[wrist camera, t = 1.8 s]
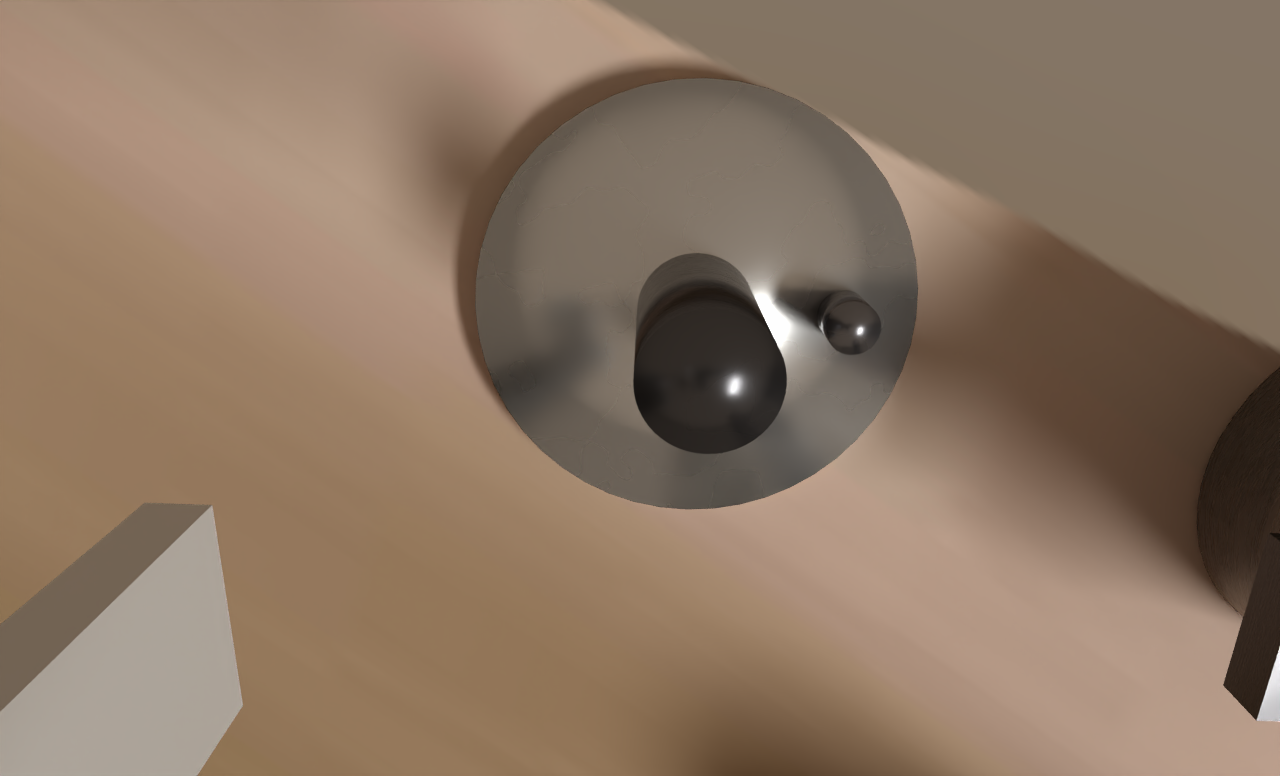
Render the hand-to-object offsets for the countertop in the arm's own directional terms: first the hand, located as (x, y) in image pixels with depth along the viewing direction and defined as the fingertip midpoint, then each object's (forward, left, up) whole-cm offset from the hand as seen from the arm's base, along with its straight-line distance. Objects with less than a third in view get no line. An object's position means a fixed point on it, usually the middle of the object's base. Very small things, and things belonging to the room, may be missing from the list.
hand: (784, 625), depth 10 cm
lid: (0, 0, -16) cm, 16 cm away
